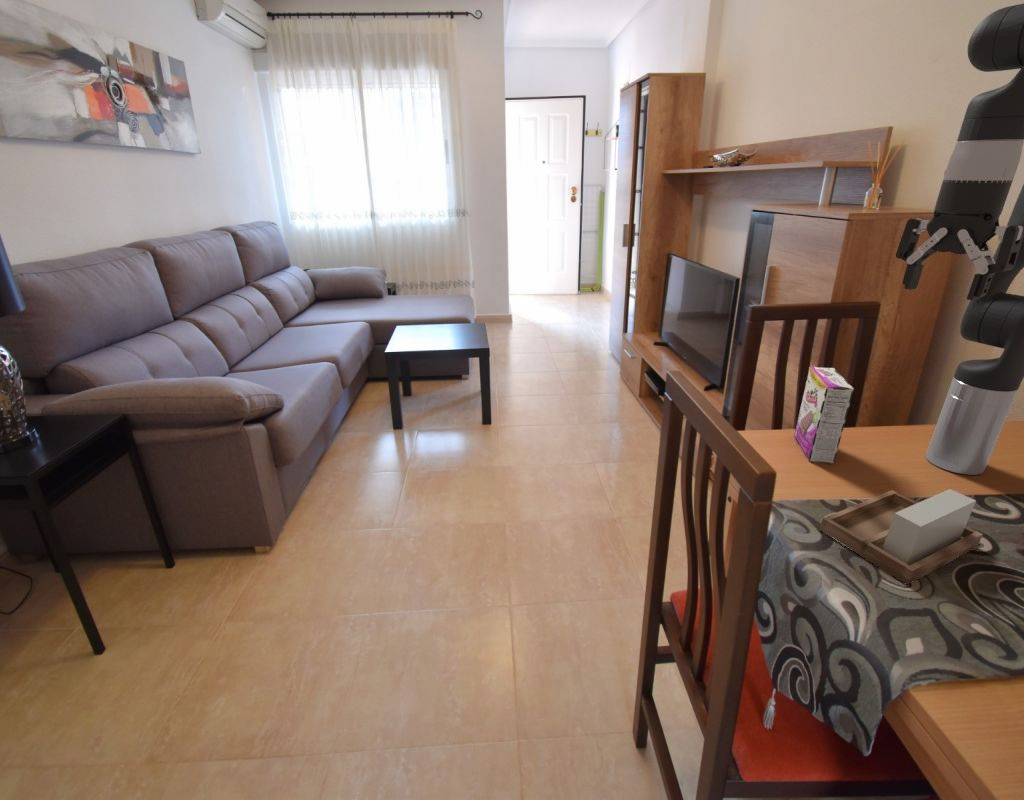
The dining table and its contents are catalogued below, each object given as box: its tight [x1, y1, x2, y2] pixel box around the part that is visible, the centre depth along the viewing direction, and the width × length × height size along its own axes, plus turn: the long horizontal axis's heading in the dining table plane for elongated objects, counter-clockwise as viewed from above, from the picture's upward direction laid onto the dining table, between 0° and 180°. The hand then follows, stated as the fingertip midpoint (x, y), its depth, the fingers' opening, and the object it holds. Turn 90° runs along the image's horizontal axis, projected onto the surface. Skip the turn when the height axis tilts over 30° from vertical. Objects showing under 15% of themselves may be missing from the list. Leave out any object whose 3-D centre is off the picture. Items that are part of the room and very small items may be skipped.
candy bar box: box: [793, 366, 855, 465], centre depth 106 cm, size 11×5×16 cm, turn 168°
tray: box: [819, 489, 983, 585], centre depth 82 cm, size 18×13×2 cm
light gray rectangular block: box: [882, 488, 977, 565], centre depth 79 cm, size 14×4×7 cm, turn 116°
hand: (940, 294), depth 79 cm, fingers open, 8 cm apart
